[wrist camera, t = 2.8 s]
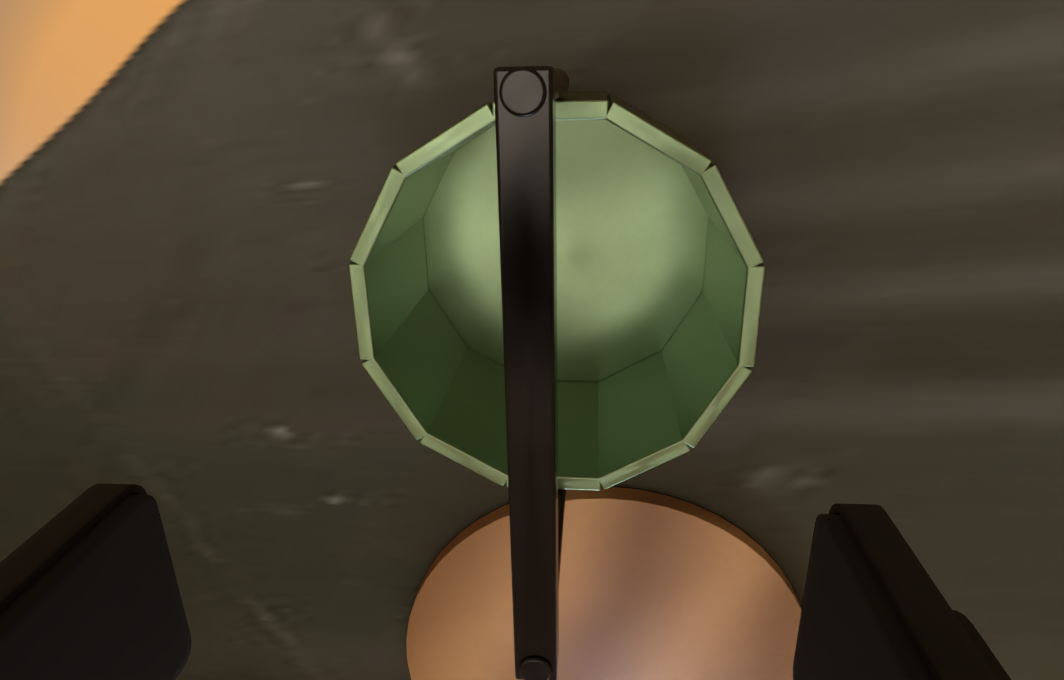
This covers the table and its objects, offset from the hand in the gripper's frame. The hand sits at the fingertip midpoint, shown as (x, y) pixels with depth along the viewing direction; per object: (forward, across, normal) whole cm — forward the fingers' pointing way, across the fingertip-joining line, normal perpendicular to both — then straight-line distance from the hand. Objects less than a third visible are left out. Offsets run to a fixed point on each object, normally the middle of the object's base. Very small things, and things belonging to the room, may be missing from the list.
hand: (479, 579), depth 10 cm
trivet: (+19, -3, +21) cm, 29 cm away
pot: (+19, -1, 0) cm, 19 cm away
